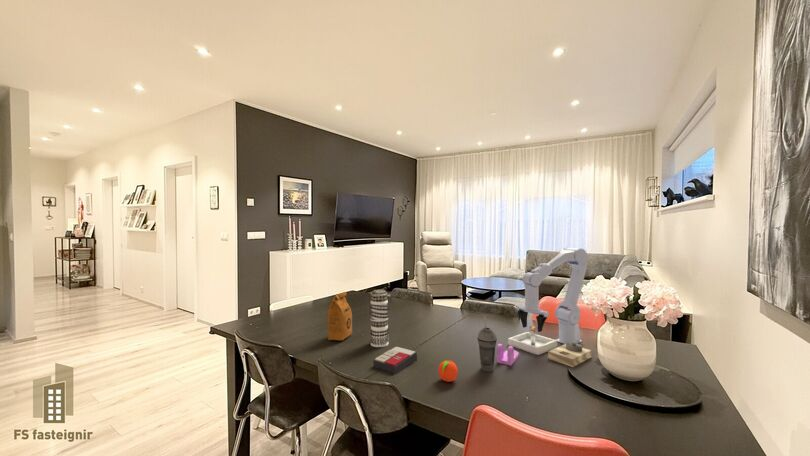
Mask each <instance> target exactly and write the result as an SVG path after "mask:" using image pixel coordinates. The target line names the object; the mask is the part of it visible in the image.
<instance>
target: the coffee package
mask: <svg viewBox="0 0 810 456" xmlns="http://www.w3.org/2000/svg"><path fill="white" fill-rule="evenodd" d="M347 295H348V293H347V292H346V291H343V292H342V293H338V294H336V295H334V296H333V299H332V301H331V302H330V303H329V307H328V311H327V340H328V341H339V342H340V341H344V340H345V339H346V338H348V337H350V336H351V335H352V333H353V314H352V313H353V312H352V309H351V307H350V305H349V303H348V302H347V299H346V298H347V297H345V296H347Z"/></svg>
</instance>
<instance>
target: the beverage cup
mask: <svg viewBox="0 0 810 456" xmlns="http://www.w3.org/2000/svg"><path fill="white" fill-rule="evenodd" d="M483 319H484V328H481V329H480V331H479V332H478V334H477V343H478V347H479V348H478V350H479V360H480V368H481V370H482V371H484V372H493V371H494V367H495V357H496V355H495V354H496V347H497V335H496V332H495V331H494V330H493V329H492V328H490V327H487V318H486V315H483Z"/></svg>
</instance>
